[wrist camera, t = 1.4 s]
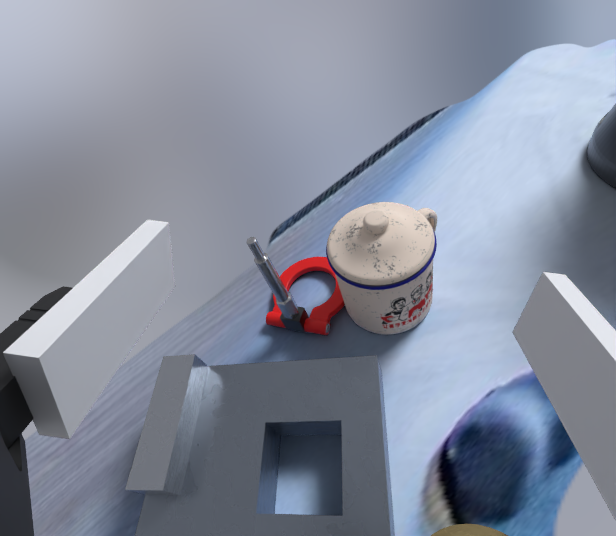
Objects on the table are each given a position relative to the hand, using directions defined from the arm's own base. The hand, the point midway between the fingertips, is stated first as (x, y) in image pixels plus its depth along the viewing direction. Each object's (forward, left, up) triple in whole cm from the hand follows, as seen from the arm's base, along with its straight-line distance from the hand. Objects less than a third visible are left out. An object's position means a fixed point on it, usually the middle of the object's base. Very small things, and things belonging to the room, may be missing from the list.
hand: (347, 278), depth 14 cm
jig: (+9, +2, -22) cm, 24 cm away
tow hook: (+7, -14, -22) cm, 27 cm away
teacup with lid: (-2, -14, -22) cm, 27 cm away
